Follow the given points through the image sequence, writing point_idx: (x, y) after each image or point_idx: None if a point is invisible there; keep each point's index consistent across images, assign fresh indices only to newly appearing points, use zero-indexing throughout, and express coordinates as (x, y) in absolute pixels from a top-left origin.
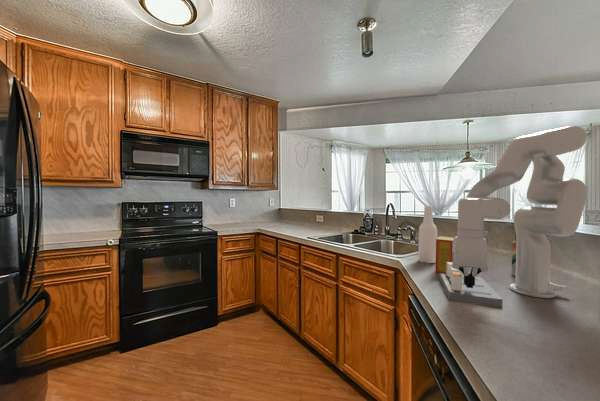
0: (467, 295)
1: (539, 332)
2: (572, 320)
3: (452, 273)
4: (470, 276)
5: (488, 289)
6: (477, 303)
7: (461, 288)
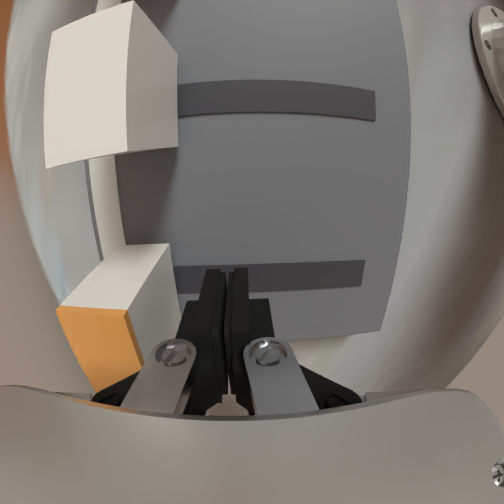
0: None
1: None
2: (487, 313)
3: (75, 347)
4: (232, 389)
5: (384, 173)
6: None
7: (176, 331)
